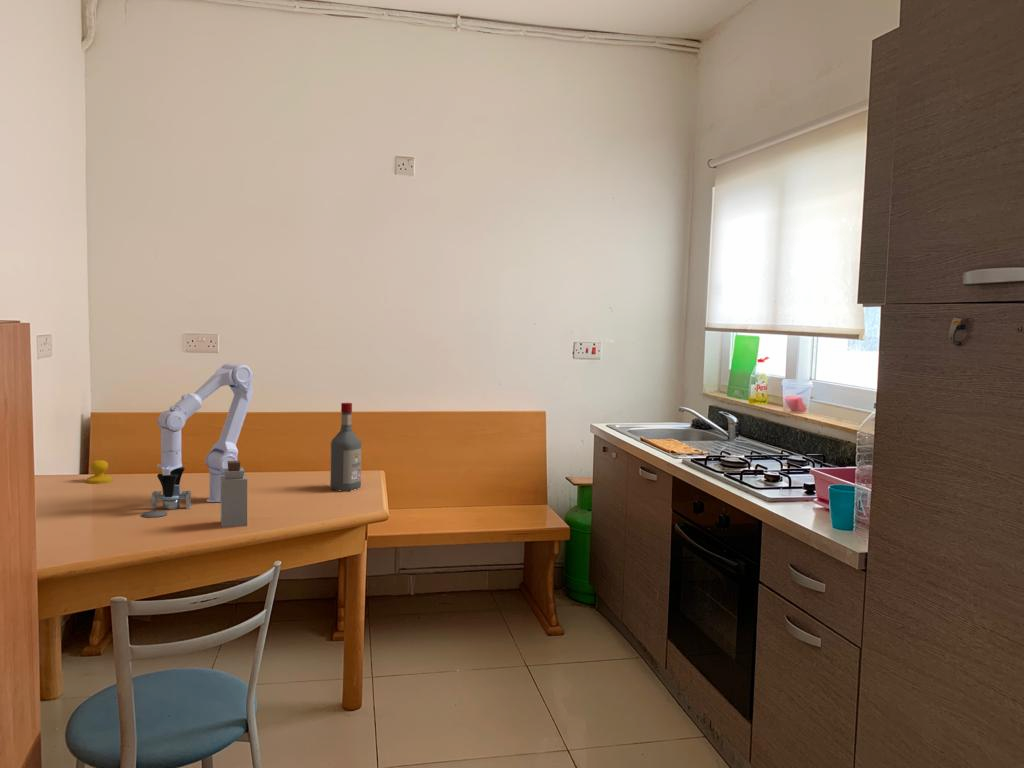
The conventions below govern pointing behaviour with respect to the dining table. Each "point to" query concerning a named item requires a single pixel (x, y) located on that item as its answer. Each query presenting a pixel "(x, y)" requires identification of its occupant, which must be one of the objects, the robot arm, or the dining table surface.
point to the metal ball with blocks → (171, 501)
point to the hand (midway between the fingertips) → (171, 494)
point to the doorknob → (99, 472)
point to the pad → (154, 514)
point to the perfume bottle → (233, 496)
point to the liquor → (345, 455)
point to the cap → (175, 494)
